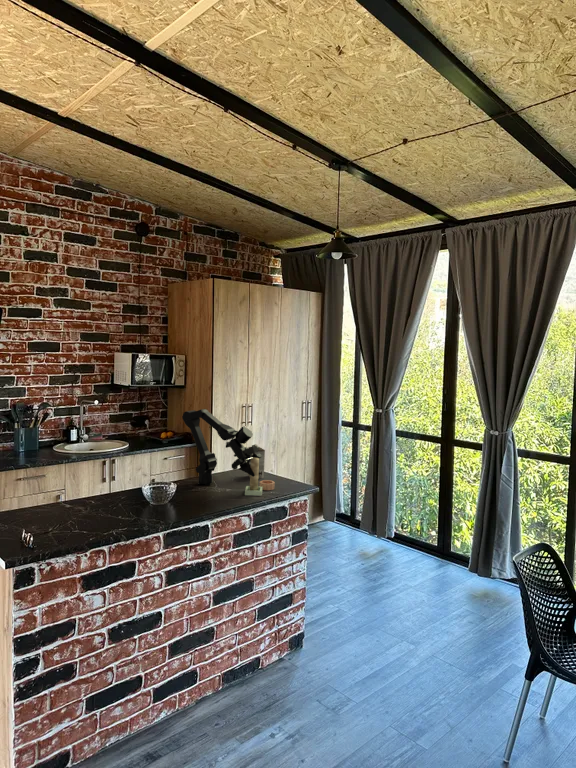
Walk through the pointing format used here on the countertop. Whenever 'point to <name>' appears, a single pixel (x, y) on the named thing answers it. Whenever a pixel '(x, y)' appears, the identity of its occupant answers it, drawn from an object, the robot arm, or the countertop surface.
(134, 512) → the countertop surface
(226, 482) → the countertop surface
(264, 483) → the holder
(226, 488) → the countertop surface
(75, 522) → the countertop surface
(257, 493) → the tray
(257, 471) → the dowel
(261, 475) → the coffee box
